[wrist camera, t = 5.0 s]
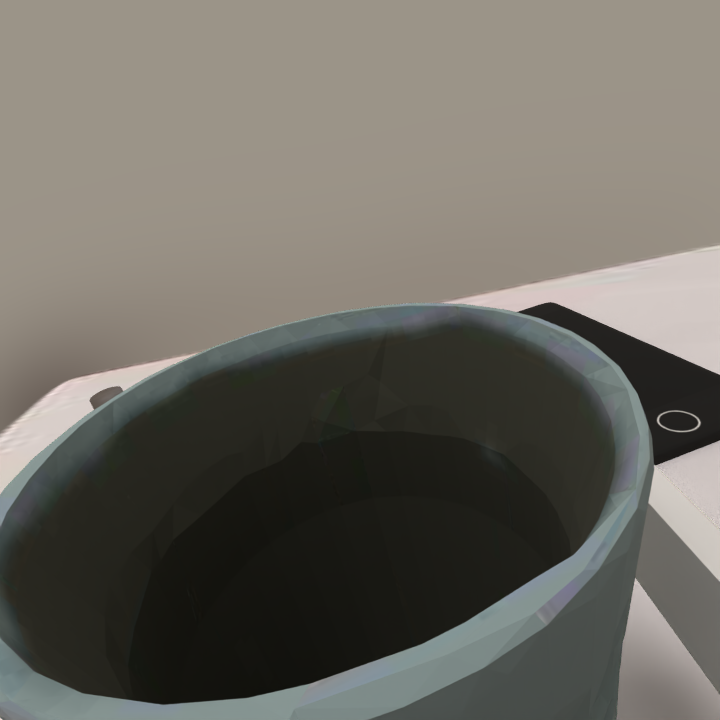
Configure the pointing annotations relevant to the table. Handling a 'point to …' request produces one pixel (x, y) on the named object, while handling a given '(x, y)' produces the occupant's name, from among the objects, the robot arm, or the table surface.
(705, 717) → the table surface
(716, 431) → the cell phone
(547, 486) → the green cup
